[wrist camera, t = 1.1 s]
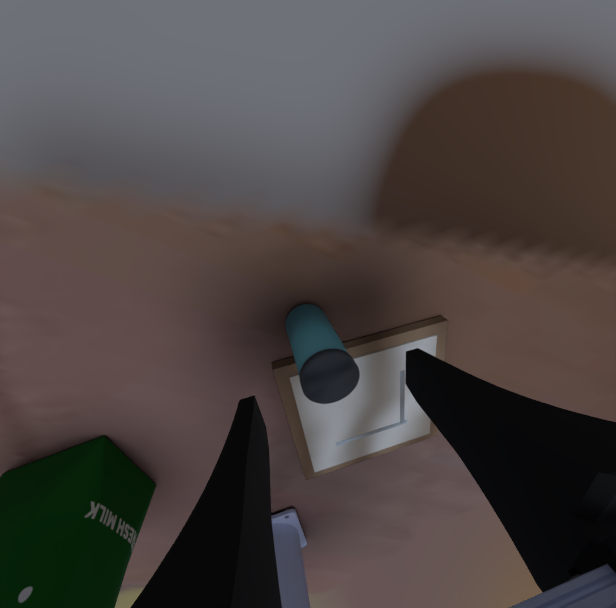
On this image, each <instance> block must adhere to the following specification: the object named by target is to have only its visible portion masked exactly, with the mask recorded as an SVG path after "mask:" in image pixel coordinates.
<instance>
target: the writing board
mask: <svg viewBox="0 0 616 608" xmlns="http://www.w3.org/2000/svg"><path fill="white" fill-rule="evenodd" d="M447 327H448V320H447V319H446V318H444V317H443V316H438V317H434V318H431V319H427V320H424V321H420V322H416V323H413V324H409V325H406V326H402V327H398V328H395V329H391V330H388V331H384V332H381V333H377V334H373V335H370V336H366V337H363V338H359V339H355V340H352V341H348V342H345V343H343V345H344V347H345V348H346V350H347V352H348V353H349V354H350V355H351V356H352V358H353V359H354V361H355V363H356V364H357V366H358V368H359V372H360V377H359V381H358V384H357V386H356V387H355V389H354V390H353V391H352V392H351V393H350V394H349V395H348V396H346V397H345V398H343V399H341V400H339V401H337V402H334V403H329V404H319V403H315V402H313V401H311V400H309V399H308V398H307V397H306V396H305V395H304V393H303V391H302V387H301V384H300V379H299V373H298V369H297V366H296V362H295V359H294V357H291V358H287V359H284V360H280V361H276V362H273V363H272V368H273V372H274V375H275V379H276V382H277V385H278V389H279V392H280V395H281V399H282V402H283V405H284V409H285V412H286V416H287V419H288V422H289V426H290V429H291V432H292V436H293V439H294V442H295V446H296V449H297V452H298V456H299V459H300V462H301V466H302V469H303V472H304V476H305V479H306V480H308V479H311V478H314V477H317V476H320V475H323V474H326V473H329V472H332V471H334V470H337V469H340V468H343V467H346V466H349V465H352V464H355V463H358V462H361V461H364V460H367V459H370V458H373V457H375V456H378V455H381V454H384V453H387V452H390V451H393V450H396V449H399V448H402V447H405V446H408V445H411V444H413V443H416V442H419V441H422V440H425V439H428V438H431V437H434V436H437V429H438V428H437V427H436V426H435V425H434V423H433V422H432V421H431V420H430V418H429V417H428V416H427V415H426V413H425V412H424V411H423V410H422V408H421V407H420V406H419V404H418V403H417V402H416V400H415V398H414V397H413V395H412V394H411V392H410V390H409V389H408V387H407V385H406V384H405V375H406V351H409V350H413V349H416V348H419V349H421V350H423V351H425V352H427V353H429V354H431V355H433V356H435V357H436V358H438V359H440V360H442V361H444V357H445V347H446V337H447Z"/></svg>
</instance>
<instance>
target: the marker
mask: <svg viewBox="0 0 616 608" xmlns="http://www.w3.org/2000/svg"><path fill="white" fill-rule="evenodd" d="M285 326H286V331H287V334H288V338H289V341H290V345H291V348H292V352H293V355H294V359H295V362H296V366H297V369H298V373H299V379H300V384H301V387H302V391H303V393H304V395H305V396H306V397H307V398H308V399H309V400H311V401H313V402H315V403H319V404H329V403H334V402H337V401H339V400H341V399H343V398H345V397H346V396H348V395H349V394H350V393H351V392H352V391H353V390H354V389H355V387H356V386H357V384H358V381H359V377H360V372H359V368H358V366H357V364H356V363H355V361H354V359H353V358H352V356H351V355H350V354H349V353H348V352H347V350H346V348H345V347H344V345H343V343H342V342H341V340H340V339H339V337H338V335H337V334H336V332H335V330H334V329H333V327H332V325H331V324H330V322H329V321H328V319H327V317H326V316H325V314H324V312H323V311H322V310H321V309H320V308H319V307H317V306H315V305H311V304H301V305H298V306H296V307H295V308H293V309H292V310H291V312H290V313H289V315H288V316H287V318H286V323H285Z"/></svg>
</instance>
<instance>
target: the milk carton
mask: <svg viewBox="0 0 616 608" xmlns="http://www.w3.org/2000/svg"><path fill="white" fill-rule="evenodd" d="M155 488H156V485H155V484H154V483H153V482H152V481H151V480H150V479H149V478H148V477H147V476H146V475H145V474H144V473H143V472H142V471H141V470H140V469H139V468H138V467H137V466H136V465H134V464H133V463H132V462H131V461H130V460H129V459H128V458H127V457H126V456H125V455H124V454H123V453H122V452H121V451H120V450H119V449H118V448H117V447H116V446H115V445H114V444H113V443H112V442H111V441H110V440H108V439H107V438H106V437H105V436H102V437H99V438H97V439H94V440H91V441H89V442H86V443H83V444H81V445H78V446H75V447H73V448H70V449H67V450H65V451H62V452H59V453H57V454H54V455H51V456H49V457H46V458H43V459H40V460H38V461H35V462H32V463H30V464H27V465H24V466H22V467H19V468H16V469H14V470H11V471H8V472H6V473H3V475H2V476H1V477H0V608H114V607H115V604H116V601H117V597H118V594H119V591H120V588H121V584H122V581H123V578H124V575H125V572H126V568H127V565H128V562H129V559H130V557H131V554H132V551H133V548H134V545H135V543H136V540H137V537H138V534H139V532H140V529H141V526H142V523H143V521H144V518H145V515H146V512H147V510H148V507H149V504H150V501H151V499H152V496H153V493H154V490H155Z"/></svg>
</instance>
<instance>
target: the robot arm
mask: <svg viewBox="0 0 616 608" xmlns="http://www.w3.org/2000/svg"><path fill="white" fill-rule="evenodd" d="M405 384H406V385H407V387H408V389H409V390H410V392H411V394H412V395H413V397H414V398H415V400H416V402H417V403H418V404H419V406H420V407H421V408H422V410H423V411H424V412H425V413H426V415H427V416H428V417H429V418H430V420H431V421H432V422H433V423H434V425H435V426H436V427H437V428H438V430H439V431H440V432H441V433H442V435H443V436H444V437H445V438H446V440H447V441H448V442H449V443H450V445H451V446H452V447H453V448H454V450H455V451H456V452H457V454H458V455H459V457H460V458H461V460H462V461H463V463H464V464H465V466H466V467H467V469H468V470H469V472H470V473H471V475H472V476H473V478H474V479H475V481H476V482H477V484H478V485H479V487H480V488H481V490H482V492H483V493H484V495H485V496H486V498H487V499H488V501H489V503H490V504H491V506H492V507H493V509H494V511H495V512H496V514H497V516H498V517H499V519H500V521H501V522H502V524H503V526H504V527H505V529H506V531H507V532H508V534H509V536H510V537H511V539H512V541H513V542H514V544H515V546H516V548H517V550H518V551H519V553H520V555H521V557H522V558H523V560H524V562H525V563H526V565H527V567H528V569H529V571H530V572H531V574H532V576H533V578H534V580H535V582H536V584H537V585H538V586H539V588H540V589H541V590H542V592H543V593H541V594H539V595H536V596H534V597H532V598H530V599H527V600H525V601H523V602H521V603H518V604H516V605H514V606H512V607H510V608H616V422H612V421H607V420H603V419H599V418H595V417H591V416H588V415H584V414H580V413H576V412H572V411H569V410H565V409H562V408H558V407H555V406H552V405H549V404H546V403H542V402H539V401H536V400H533V399H530V398H527V397H524V396H522V395H519V394H516V393H514V392H511V391H508V390H506V389H503V388H500V387H498V386H496V385H493V384H491V383H489V382H486V381H484V380H482V379H479V378H477V377H475V376H473V375H471V374H469V373H466V372H464V371H462V370H460V369H458V368H456V367H454V366H452V365H450V364H448V363H446V362H444V361H442V360H440V359H438V358H436V357H435V356H433V355H431V354H429V353H427V352H425V351H423V350H421V349H419V348H416V349H413V350H409V351H406V375H405ZM306 545H307V541H306V538H305V535H304V532H303V530H302V527H301V524H300V521H299V519H298V516H297V513H296V511H295V509H289V510H286V511H283V512H281V513H278V514H275V515H272V516H271V497H270V464H269V446H268V439H267V432H266V426H265V423H264V420H263V417H262V415H261V412H260V409H259V406H258V404H257V401H256V398H255V396H251V397H248V398H244V399H241V400H240V401H239V403H238V407H237V410H236V414H235V417H234V420H233V423H232V426H231V429H230V431H229V434H228V437H227V439H226V442H225V445H224V447H223V450H222V452H221V454H220V457H219V459H218V461H217V463H216V466H215V468H214V470H213V473H212V475H211V477H210V479H209V481H208V483H207V485H206V487H205V489H204V491H203V493H202V495H201V497H200V499H199V501H198V502H197V504H196V506H195V508H194V510H193V511H192V513H191V515H190V517H189V519H188V520H187V522H186V524H185V526H184V527H183V529H182V531H181V532H180V534H179V536H178V537H177V539H176V541H175V542H174V544H173V545H172V547H171V548H170V550H169V552H168V553H167V555H166V556H165V558H164V559H163V561H162V562H161V564H160V566H159V567H158V569H157V570H156V572H155V573H154V575H153V576H152V578H151V579H150V581H149V582H148V584H147V585H146V587H145V588H144V589H143V591H142V592H141V594H140V595H139V596H138V598H137V599H136V601H135V602H134V604H133V605H132V606H131V608H310V603H309V596H308V590H307V583H306V577H305V570H304V564H303V557H302V551H301V548H303V547H305V546H306Z"/></svg>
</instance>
